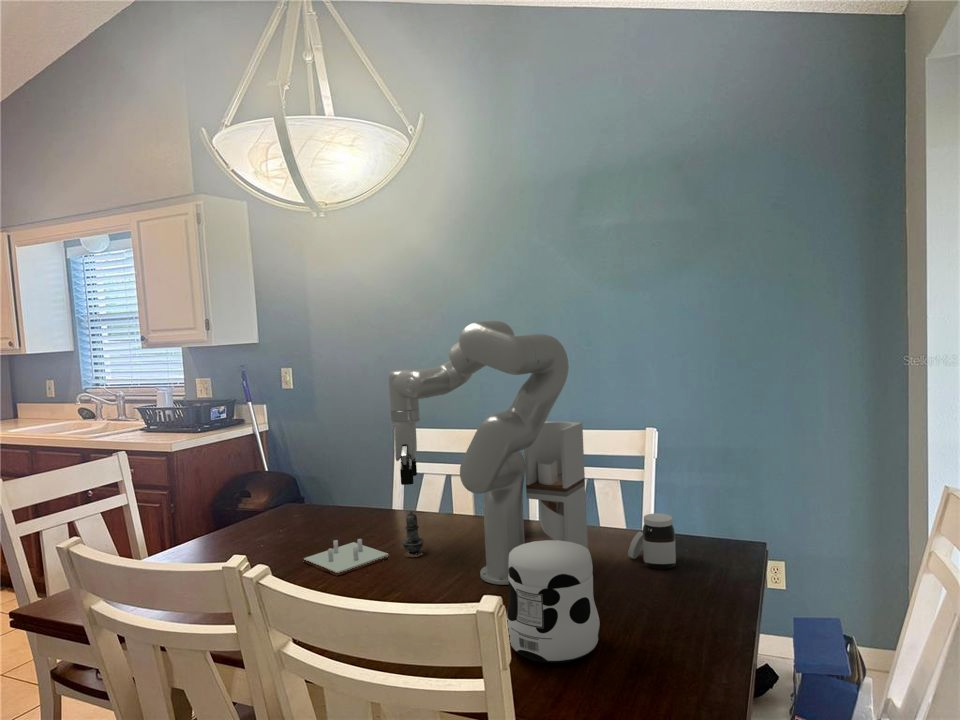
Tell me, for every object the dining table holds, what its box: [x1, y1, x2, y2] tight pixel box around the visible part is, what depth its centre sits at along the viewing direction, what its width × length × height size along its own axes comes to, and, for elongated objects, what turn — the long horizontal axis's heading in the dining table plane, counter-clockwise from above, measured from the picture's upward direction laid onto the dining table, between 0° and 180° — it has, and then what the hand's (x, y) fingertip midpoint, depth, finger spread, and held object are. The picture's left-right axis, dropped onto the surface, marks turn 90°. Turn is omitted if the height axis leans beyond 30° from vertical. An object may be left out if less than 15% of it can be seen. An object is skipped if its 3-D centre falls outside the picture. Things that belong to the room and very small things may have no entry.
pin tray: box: [303, 538, 390, 573], centre depth 178 cm, size 16×16×4 cm
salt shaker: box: [401, 510, 425, 555], centre depth 180 cm, size 6×6×12 cm
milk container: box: [506, 539, 601, 664], centre depth 125 cm, size 17×17×18 cm
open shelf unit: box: [523, 420, 589, 550], centre depth 166 cm, size 11×11×35 cm
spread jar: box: [627, 513, 677, 570], centre depth 165 cm, size 12×11×12 cm
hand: (409, 479), depth 179 cm, fingers open, 9 cm apart
